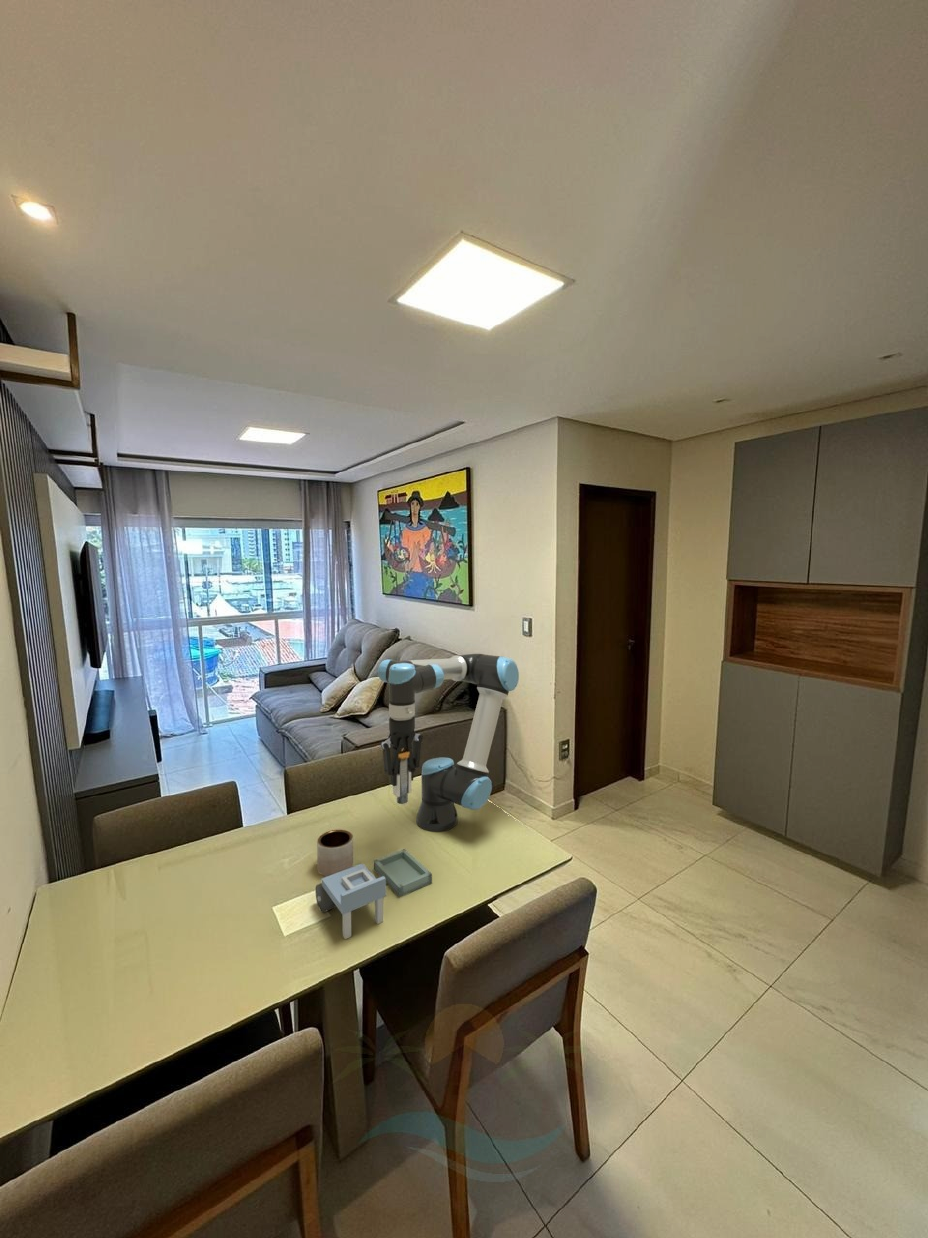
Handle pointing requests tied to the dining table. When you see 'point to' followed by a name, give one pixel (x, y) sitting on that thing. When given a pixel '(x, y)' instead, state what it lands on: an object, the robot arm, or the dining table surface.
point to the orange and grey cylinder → (403, 776)
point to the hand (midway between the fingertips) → (402, 793)
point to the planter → (334, 852)
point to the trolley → (351, 893)
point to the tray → (402, 872)
